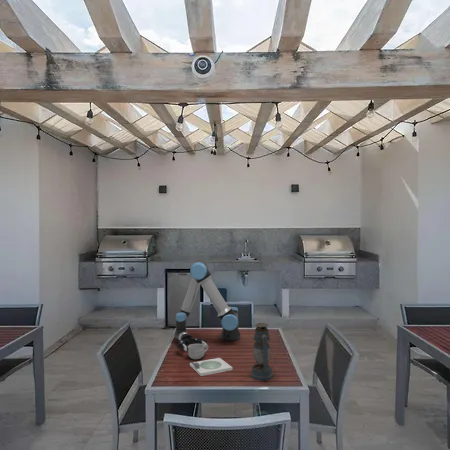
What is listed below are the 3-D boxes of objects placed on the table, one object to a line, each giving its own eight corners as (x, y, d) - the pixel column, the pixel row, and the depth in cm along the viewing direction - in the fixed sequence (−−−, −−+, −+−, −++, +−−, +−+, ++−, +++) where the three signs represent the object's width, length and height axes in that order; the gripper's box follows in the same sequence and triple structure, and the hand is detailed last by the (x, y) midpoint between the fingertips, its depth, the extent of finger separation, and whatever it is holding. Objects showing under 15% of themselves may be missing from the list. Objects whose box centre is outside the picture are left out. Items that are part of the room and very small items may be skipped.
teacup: (190, 361, 239) (190, 349, 239) (185, 356, 249) (185, 343, 249) (211, 359, 243) (211, 346, 243) (206, 353, 254) (206, 341, 254)
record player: (219, 360, 241) (219, 353, 241) (232, 370, 225) (232, 363, 225) (189, 365, 233) (189, 358, 233) (200, 376, 216) (200, 369, 216)
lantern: (247, 369, 225) (246, 319, 225) (270, 368, 227) (270, 317, 227) (255, 383, 206) (254, 327, 206) (280, 381, 208) (280, 326, 208)
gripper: (202, 341, 272) (214, 350, 253) (168, 346, 262) (177, 356, 243) (202, 331, 272) (213, 339, 253) (168, 335, 262) (177, 344, 243)
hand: (196, 347), depth 248 cm, fingers open, 13 cm apart
